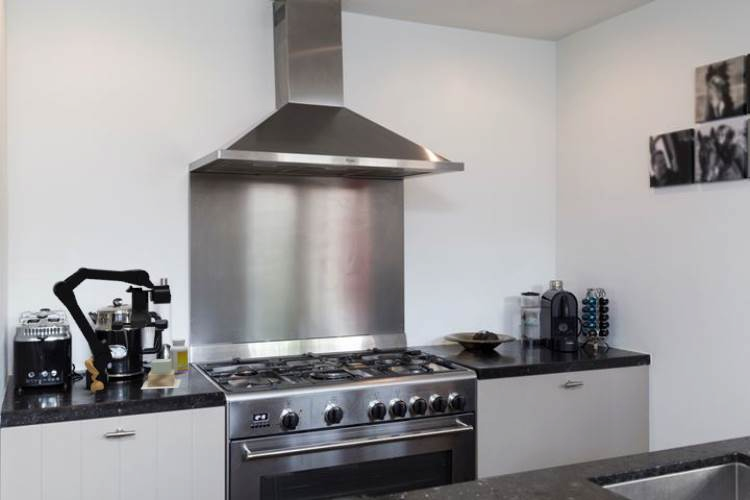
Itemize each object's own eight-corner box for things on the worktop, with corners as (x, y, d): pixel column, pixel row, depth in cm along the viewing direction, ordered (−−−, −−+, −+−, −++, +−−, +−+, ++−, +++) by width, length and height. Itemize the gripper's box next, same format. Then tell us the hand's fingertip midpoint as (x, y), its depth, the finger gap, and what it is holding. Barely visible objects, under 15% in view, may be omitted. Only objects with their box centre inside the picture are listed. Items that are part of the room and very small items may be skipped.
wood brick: (148, 386, 240) (148, 375, 240) (150, 382, 248) (150, 370, 248) (172, 386, 242) (172, 374, 242) (174, 381, 250) (174, 369, 249)
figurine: (108, 394, 236) (108, 357, 235) (90, 397, 232) (89, 360, 231) (98, 390, 242) (97, 354, 242) (80, 393, 238) (79, 356, 237)
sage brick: (151, 374, 241) (151, 362, 241) (153, 370, 247) (153, 359, 247) (169, 373, 242) (169, 361, 242) (171, 370, 248) (171, 358, 248)
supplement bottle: (191, 372, 274) (191, 338, 273) (182, 375, 267) (182, 341, 267) (175, 371, 275) (175, 337, 275) (166, 374, 269) (166, 340, 268)
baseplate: (140, 393, 237) (140, 389, 237) (145, 384, 250) (145, 380, 250) (178, 392, 239) (178, 387, 239) (181, 383, 253) (181, 379, 253)
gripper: (108, 307, 243) (108, 354, 243) (165, 306, 246) (166, 352, 247) (113, 304, 254) (113, 348, 254) (168, 303, 257) (168, 347, 258)
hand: (140, 349), depth 253 cm, fingers open, 9 cm apart
